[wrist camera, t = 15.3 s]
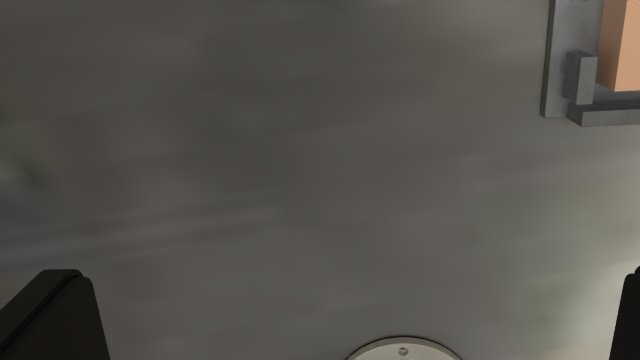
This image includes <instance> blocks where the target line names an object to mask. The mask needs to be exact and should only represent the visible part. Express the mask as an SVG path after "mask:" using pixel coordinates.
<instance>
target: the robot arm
mask: <svg viewBox="0 0 640 360" xmlns="http://www.w3.org/2000/svg"><path fill="white" fill-rule="evenodd" d="M0 360H110V356H109V352H108V348H107V343H106V339H105V335H104V331H103V327H102V322H101V318H100V314H99V310H98V306H97V301H96V297H95V293H94V289H93V285H92V282H91V280H90V279H89V278H87V277H83V275H82V273H81V272H80V271H79V270H77V269H54V270H43V271H42V272H40V273H39V274H38V275H37V276H36V277H35V278H34V279H33V280H32V281H31V282H29V283H28V284H27V285H26V286H25V287H24V288H23V289H22V290H21V291H20V292H19V293H18V294H17V295H16V296H15V297H14V298H13V299H12V300H11V301H10V302H8V303H7V304H6V305H5V306H4V307H3V308H2V309H1V310H0ZM347 360H460V358H458V357H457V356H456V355H455V354H454V353H452V352H451V351H450V350H448V349H446V348H444V347H443V346H441V345H439V344H436V343H433V342H431V341H428V340H423V339H418V338H409V337H397V338H389V339H384V340H380V341H377V342H374V343H371V344H369V345H367V346H365V347H363V348H361V349H359V350H358V351H357V352H355V353H354V354H352V355H351V356H350V357H349V358H348V359H347ZM609 360H640V266H639V267H638V268H637V269H636V271H635V273H634V274H628V275H627V276H626V278H625V281H624V285H623V290H622V295H621V300H620V305H619V310H618V316H617V321H616V326H615V331H614V336H613V341H612V347H611V352H610V357H609Z"/></svg>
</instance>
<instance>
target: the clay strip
mask: <svg viewBox="0 0 640 360" xmlns="http://www.w3.org/2000/svg"><path fill="white" fill-rule="evenodd" d="M597 56H598V62H597V70H596V78H595V83H597V84H600V85H602V86H604V87H606V88H608V89H610V90H612V91H614V92H616V91H635V90H640V0H604V7H603V15H602V23H601V31H600V39H599V47H598V55H597Z"/></svg>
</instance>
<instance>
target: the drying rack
mask: <svg viewBox="0 0 640 360" xmlns="http://www.w3.org/2000/svg"><path fill="white" fill-rule="evenodd" d="M603 7H604V0H550V11H549V22H548V33H547V44H546V55H545V66H544V77H543V88H542V99H541V110H540V115H542V116H543V117H544V118H553V117H568V118H569V119H571V120H572V121H574V122H575V123H576V124H578V125H579V126H581V127H590V126H612V125H633V124H640V90H635V91H616V92H614V91H612V90H610V89H608V88H606V87H604V86H602V85H600V84H597V83H595V78H596V70H597V62H598V56H597V55H598V47H599V39H600V31H601V23H602V15H603Z"/></svg>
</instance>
